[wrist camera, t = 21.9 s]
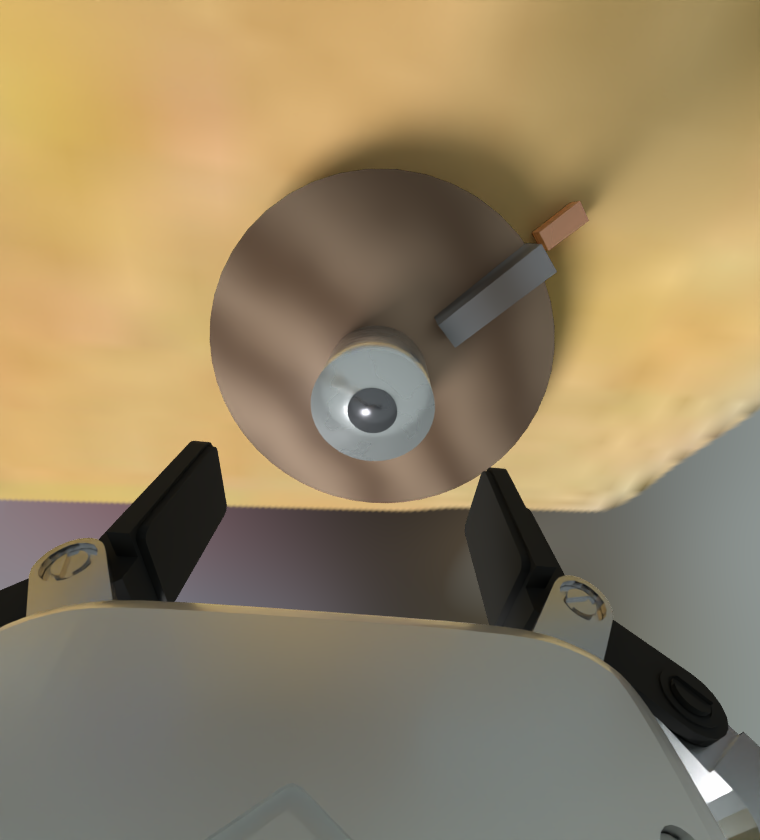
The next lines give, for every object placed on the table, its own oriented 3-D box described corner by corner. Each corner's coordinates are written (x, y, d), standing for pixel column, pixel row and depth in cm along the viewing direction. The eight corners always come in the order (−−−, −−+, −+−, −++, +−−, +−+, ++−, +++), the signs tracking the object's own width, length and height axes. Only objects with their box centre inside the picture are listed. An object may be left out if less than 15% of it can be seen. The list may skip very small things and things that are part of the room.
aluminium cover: (326, 413, 23) (310, 456, 19) (329, 319, 20) (309, 343, 16) (418, 423, 23) (423, 468, 19) (435, 331, 20) (446, 358, 16)
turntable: (366, 522, 31) (362, 562, 27) (163, 345, 24) (118, 366, 20) (596, 385, 24) (635, 413, 20) (406, 61, 16) (410, 6, 12)
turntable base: (313, 414, 27) (309, 421, 26) (313, 172, 19) (308, 168, 18) (506, 434, 27) (511, 442, 26) (584, 204, 19) (595, 202, 18)
